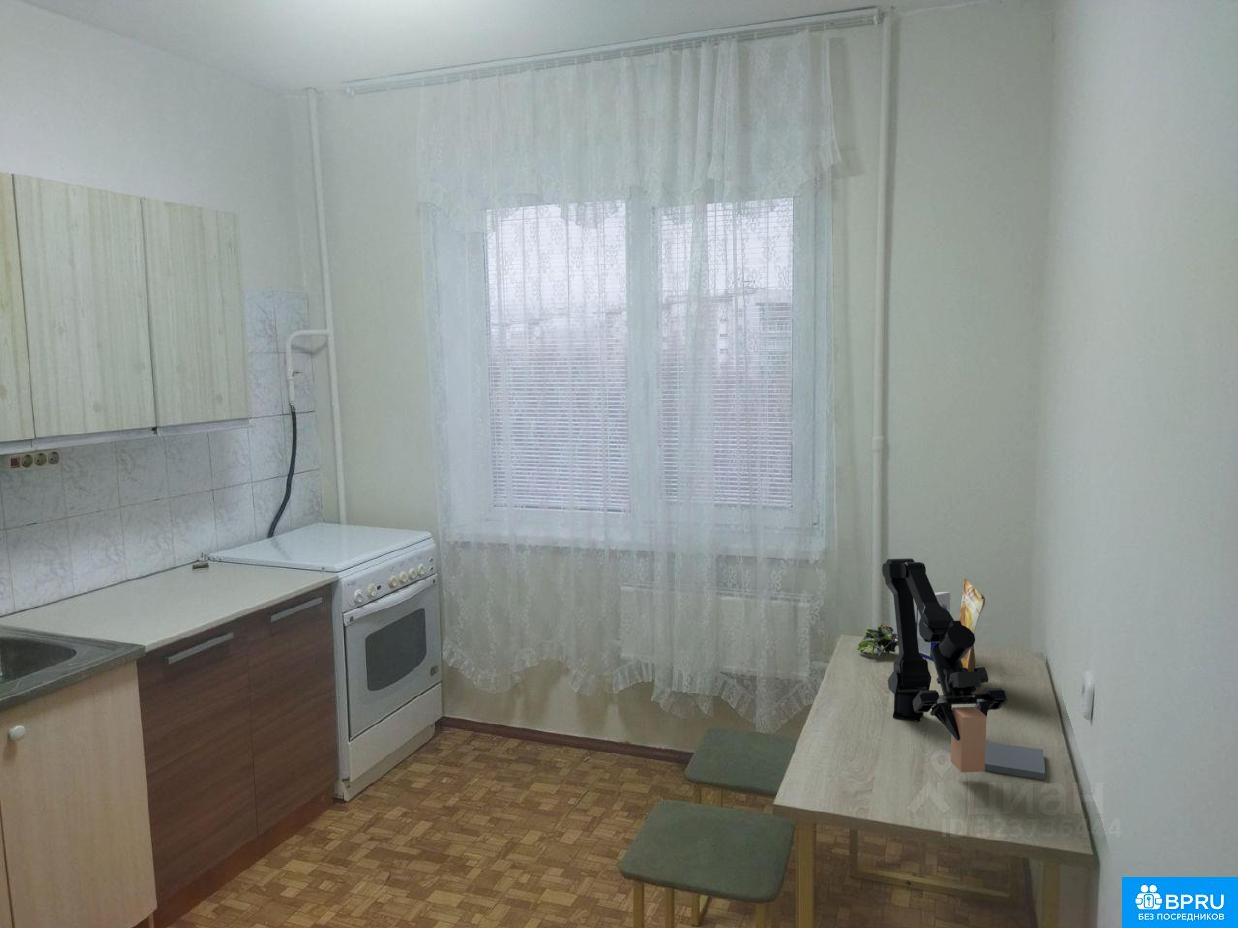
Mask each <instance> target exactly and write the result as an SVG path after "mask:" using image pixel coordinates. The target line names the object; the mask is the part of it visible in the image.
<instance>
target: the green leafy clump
mask: <svg viewBox="0 0 1238 928" xmlns="http://www.w3.org/2000/svg"><path fill="white" fill-rule="evenodd" d="M882 647H883V648H882ZM896 647H898V636H897V632H894V629H893V627H892V626H889V625H888V624H885V625H884V624H880V625H879V626H878V627H872V629H871V628H869V627H866V631H865V636H864V637H863V638H862V640H861V641H860V642H859V643H858V646H857V648H856V649H857V651H860V653H863V652H864V650H866V649H869V648H870V653H871V655H872V656H874V650H875V649H876V652H877V657H876V658H875V661H878V659H879V658H880V656H881V654H882V653H883V652H885V653H887V654H889V653H890V652H891V653H896Z"/></svg>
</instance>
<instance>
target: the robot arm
mask: <svg viewBox="0 0 1238 928" xmlns="http://www.w3.org/2000/svg"><path fill="white" fill-rule="evenodd" d="M926 570H927V569H926V565H925V563H924V562H920V561H915V559H914V558H910V557H909V558H888V559H886V561H885V562H884V563H883V564H882V567H881V571H882V576H883V577H884V583H885V585H886V586H887V588H888V589H889V591H890V592H891V593H892V595H893V604H894V615H895V623H896V634H897V635H896V636H897V638H898V645H897V648H898V654H897V656H896V658H895V661H894V662H893V671H892V673H891V674H890V676H889V677H888V679H887V686H888V687H887V688H888V690H889V691H890V692H891V693H892V694H893V714H892V718H895V719H899V720H906V721H907V720H908V721H914V722H920V721H921V719H922V718H923V717H924V713H929V712H930V713H929V714H930V716H932V717H933V716H934V717H935V718H936V719H937V720H939V722H940V723H941V724H942V725H943V726H944V727H945V729H947V730H948V731H949V733H950V734H952V735H953V736H954V738H955V739H956V740H957V741H959V740H960V735H959V731H958V728H957V725H956V722H955V719H954V716H953V713H952V708H953V706H954V705H973V706H972V707H976V708H977V709H979V710H980V711H981V712H982V713H983V714H984V715H985V716H988V712H989V711H992V710H993V711H994V710H995V711H996V710H998V709H1001V708H1002V706H1003V705H1004V704H1006V702H1008V700H1009V698H1008V693H1007V691H1006V690H1005V689H1004V688H1002V687H987V688H985V689H984V690H983V691H982V692H980V693H978V694H977V693H976V694H973V693H974V692H976V691H977V688H982V684H986V683H988V682H989V674H988V671H987V668H986V666H985V667H984V666H979V667H975V668H974V672H968V669H967V668H964V667H963V663H962V660H961V659H962V658H964V657H965V655H966V654H967V653H968V651H969V650H970V649H971V647H972V646H973V645H974V644H975V643H976V636H975V633H972V631H971V630H970V629H969V628H967V627H966V626H963V625H962V624H961V621H958V620H955V619H954V618H953V615H952V614H951V612H950V613H949V611H947V610H946V609H944V608H943V607H941V606H940V604H939V602H938V600H937V598H936V595H935V593H936V592H935V591H934V589H933V586H932V584H931V582H930V580H929V577H928V575H927V571H926ZM916 605H917V608H918V610H919V613H920V616H921V618H920V621H919V624H918V625H919V633H920V636H921V637H922V638H923V640H924V641H925V642H928V643H931V642H940V643H938V644H936V645H935V646H934V647H933V649H932V650H931V653H930V658H931V659H933V663H934V668H935V670H936V675H937V678H936V682H937V684H939V685H940V688H941V691H942V694H941V695H940V693H939V691H937V690H936V689H933V690H931V689H930V688H931V687H930V686H931V683H932V675H931V673H930V670H929V662H928V659H926V658H923V657H922V656H921V654H920V653H919V648H918V638H917V628H916V608H915V606H916ZM972 692H973V693H972ZM930 710H931V711H930ZM987 719H988V717H987V718H986V720H987Z"/></svg>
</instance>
